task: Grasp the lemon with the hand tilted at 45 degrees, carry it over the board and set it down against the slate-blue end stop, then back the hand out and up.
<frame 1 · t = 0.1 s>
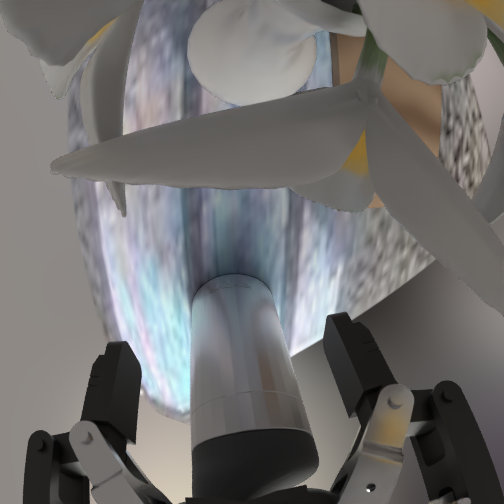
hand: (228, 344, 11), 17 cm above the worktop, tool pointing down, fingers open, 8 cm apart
stop board: (388, 117, 23), on the worktop
flower vase: (238, 57, 20), on the worktop
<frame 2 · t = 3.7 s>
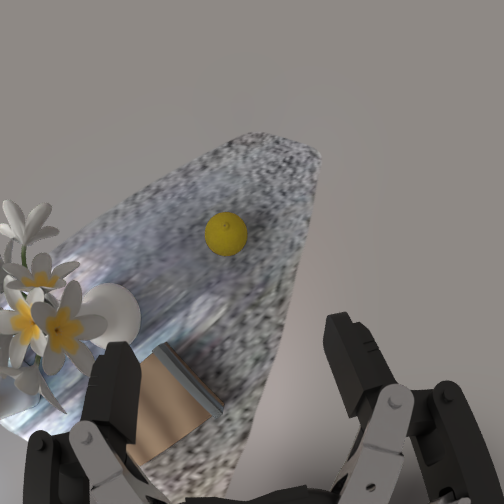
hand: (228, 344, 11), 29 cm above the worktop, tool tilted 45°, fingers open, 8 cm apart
stop board: (152, 408, 36), on the worktop
flower vase: (115, 313, 38), on the worktop
lemon: (227, 242, 41), on the worktop
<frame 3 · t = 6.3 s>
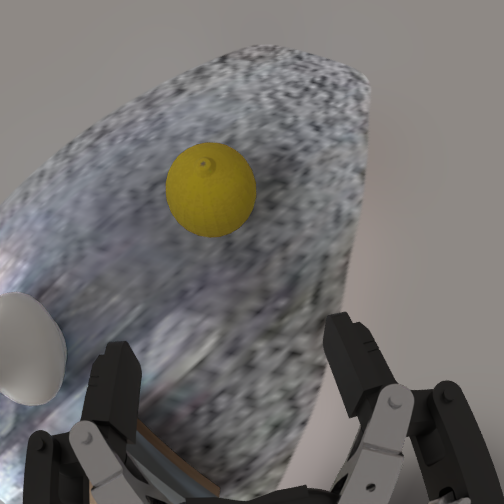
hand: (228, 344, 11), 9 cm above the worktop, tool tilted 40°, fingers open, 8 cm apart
stop board: (109, 483, 17), on the worktop
flower vase: (38, 339, 19), on the worktop
lemon: (216, 211, 22), on the worktop
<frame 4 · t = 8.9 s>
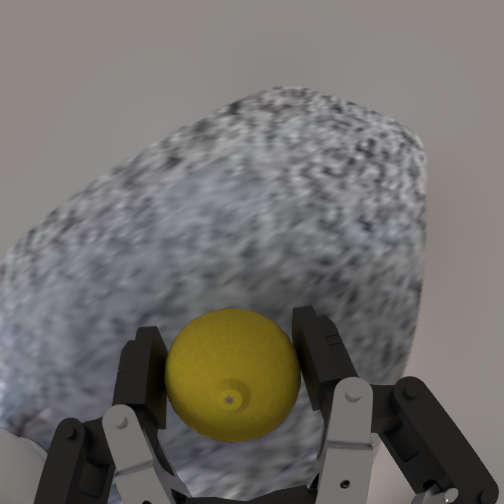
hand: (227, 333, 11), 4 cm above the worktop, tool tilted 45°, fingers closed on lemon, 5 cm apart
flower vase: (32, 462, 12), on the worktop
lemon: (234, 358, 15), on the worktop, touching gripper
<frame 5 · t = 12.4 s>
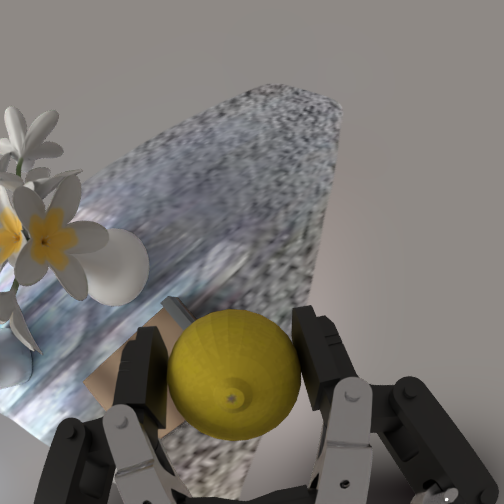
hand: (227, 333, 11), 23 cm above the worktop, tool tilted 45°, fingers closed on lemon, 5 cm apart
stop board: (158, 379, 32), on the worktop
flower vase: (120, 267, 35), on the worktop
lemon: (234, 358, 16), point 18 cm above the worktop, touching gripper
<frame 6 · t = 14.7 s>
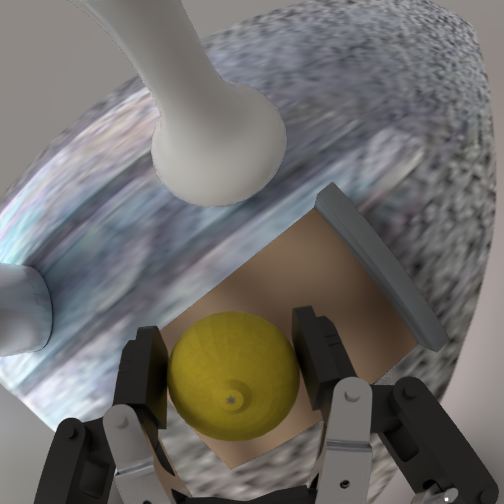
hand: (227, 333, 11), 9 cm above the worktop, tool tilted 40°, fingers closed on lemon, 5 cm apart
stop board: (279, 347, 19), on the worktop
flower vase: (220, 157, 22), on the worktop
lemon: (234, 359, 16), point 4 cm above the worktop, touching gripper
when the fingers open (7 cm above the worktop, at t = 16.2 s): lemon drops 1 cm, resting on stop board.
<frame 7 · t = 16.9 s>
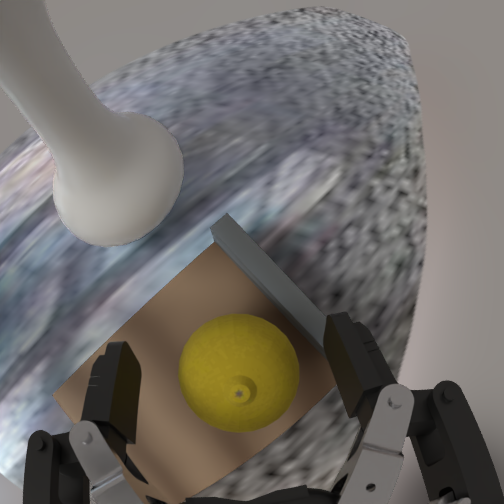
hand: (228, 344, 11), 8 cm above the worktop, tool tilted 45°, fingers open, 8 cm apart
stop board: (191, 389, 17), on the worktop
flower vase: (124, 192, 20), on the worktop
lemon: (237, 358, 17), point 1 cm above the worktop, touching stop board
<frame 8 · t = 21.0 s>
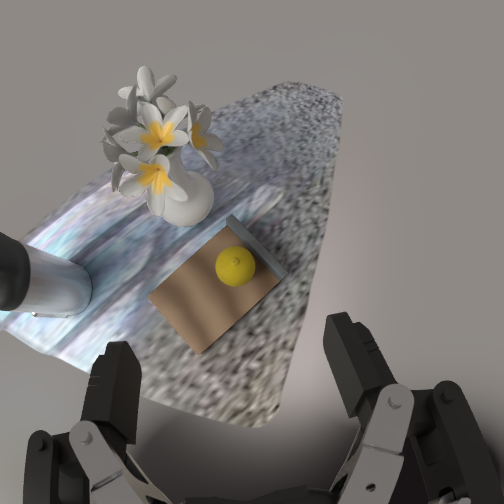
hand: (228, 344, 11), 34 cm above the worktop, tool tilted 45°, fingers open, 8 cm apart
stop board: (215, 287, 45), on the worktop
flower vase: (184, 204, 47), on the worktop
lemon: (235, 271, 44), point 1 cm above the worktop, touching stop board
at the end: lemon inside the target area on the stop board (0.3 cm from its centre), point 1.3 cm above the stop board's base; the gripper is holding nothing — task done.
